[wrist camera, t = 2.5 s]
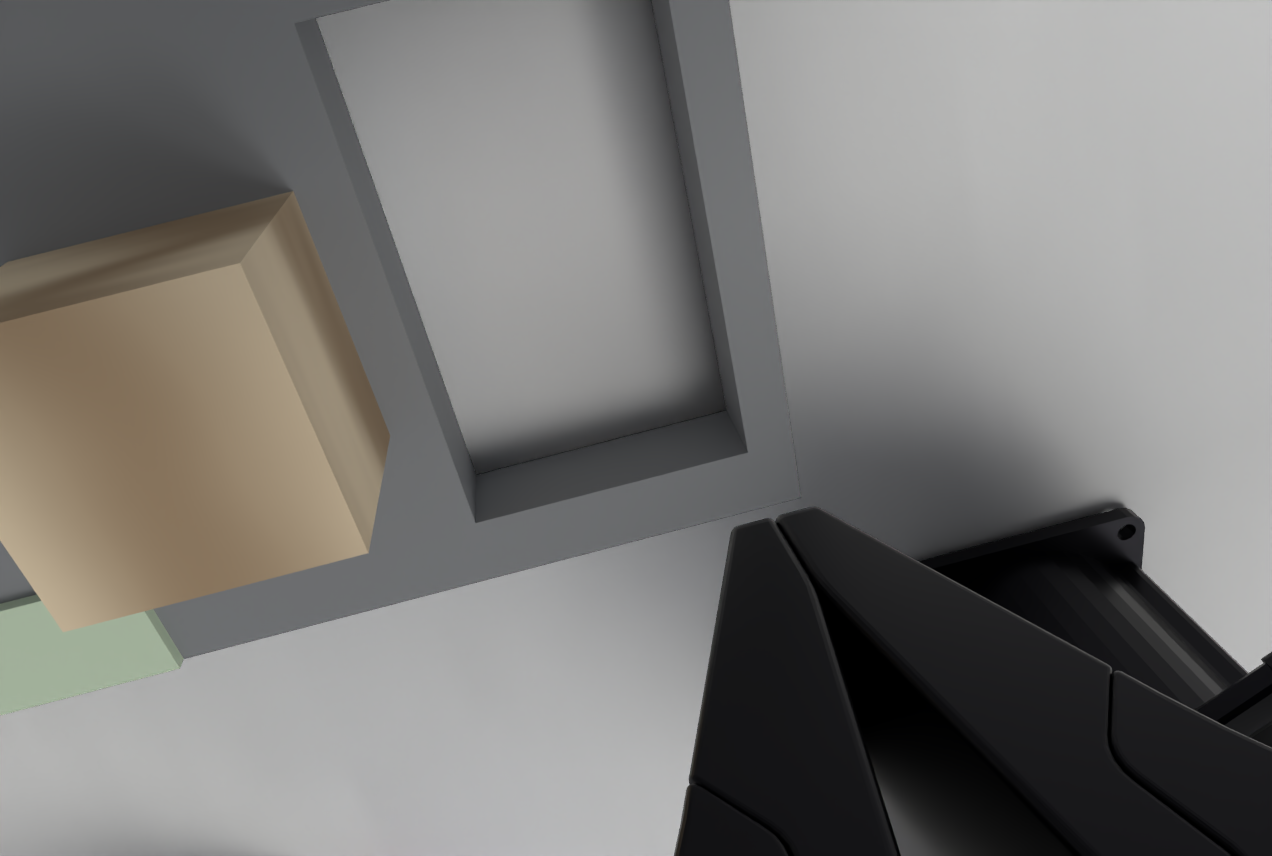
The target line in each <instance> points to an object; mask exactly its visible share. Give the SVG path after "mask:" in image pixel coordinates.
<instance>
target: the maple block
mask: <svg viewBox="0 0 1272 856" xmlns="http://www.w3.org/2000/svg"><path fill="white" fill-rule="evenodd" d="M389 440H390V434H389V431H388V429H387V426H386V424H385V421H384V419H383V416H382V413H381V411H380V408H379V406H378V403H377V401H376V398H375V396H374V393H373V391H372V388H371V386H370V383H369V381H368V378H367V376H366V373H365V371H364V368H363V366H362V363H361V361H360V358H359V355H358V353H357V350H356V348H355V345H354V343H353V340H352V338H351V335H350V333H349V330H348V328H347V325H346V323H345V320H344V318H343V315H342V313H341V310H340V308H339V305H338V303H337V300H336V298H335V295H334V292H333V290H332V287H331V285H330V282H329V280H328V277H327V275H326V272H325V270H324V267H323V265H322V262H321V260H320V257H319V255H318V252H317V250H316V247H315V245H314V242H313V240H312V237H311V234H310V232H309V229H308V227H307V224H306V222H305V219H304V217H303V214H302V212H301V209H300V207H299V204H298V202H297V199H296V197H295V194H294V192H293V191H291V192H287V193H283V194H279V195H275V196H271V197H267V198H263V199H259V200H255V201H251V202H247V203H243V204H239V205H235V206H231V207H227V208H223V209H219V210H215V211H211V212H207V213H203V214H199V215H194V216H190V217H186V218H182V219H178V220H174V221H170V222H166V223H162V224H158V225H154V226H150V227H146V228H142V229H138V230H134V231H130V232H126V233H122V234H118V235H114V236H110V237H106V238H102V239H98V240H94V241H90V242H86V243H82V244H78V245H74V246H70V247H66V248H61V249H57V250H53V251H49V252H45V253H41V254H37V255H33V256H29V257H25V258H21V259H17V260H13V261H9V262H7V263H5V264H4V265H2V266H1V267H0V541H1V543H2V544H3V545H4V547H5V548H6V550H7V551H8V553H9V554H10V556H11V557H12V559H13V560H14V561H15V563H16V564H17V566H18V567H19V569H20V570H21V572H22V573H23V575H24V576H25V578H26V579H27V580H28V582H29V583H30V585H31V586H32V588H33V589H34V591H35V592H36V594H37V595H38V597H39V598H40V599H41V601H42V602H43V604H44V605H45V607H46V608H47V610H48V611H49V613H50V614H51V615H52V617H53V618H54V620H55V621H56V623H57V624H58V626H59V627H60V629H61V630H62V632H67V631H70V630H74V629H78V628H82V627H86V626H90V625H94V624H97V623H101V622H105V621H109V620H113V619H117V618H121V617H124V616H128V615H132V614H136V613H140V612H144V611H148V610H151V609H155V608H159V607H163V606H167V605H171V604H174V603H178V602H182V601H186V600H190V599H194V598H198V597H201V596H205V595H209V594H213V593H217V592H221V591H225V590H228V589H232V588H236V587H240V586H244V585H248V584H252V583H255V582H259V581H263V580H267V579H271V578H275V577H279V576H282V575H286V574H290V573H294V572H298V571H302V570H306V569H309V568H313V567H317V566H321V565H325V564H329V563H333V562H336V561H340V560H344V559H348V558H352V557H356V556H359V555H363V554H367V553H369V548H370V542H371V537H372V532H373V526H374V521H375V515H376V510H377V505H378V499H379V494H380V488H381V483H382V478H383V472H384V467H385V461H386V456H387V451H388V445H389Z"/></svg>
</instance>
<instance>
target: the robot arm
mask: <svg viewBox="0 0 1272 856" xmlns="http://www.w3.org/2000/svg"><path fill="white" fill-rule="evenodd" d="M1123 526H1125V527H1124V528H1123V529H1121V528H1122V527H1123ZM1120 529H1121V530H1120ZM1144 532H1145V526H1144V522H1143V521H1142V519H1141V518H1140V517H1138V516H1137V515H1136V514H1135V513H1134V512H1133V511H1132V510H1130V509H1127V508H1121V509H1116V510H1112V511H1108V512H1104V513H1100V514H1097V515H1093V516H1089V517H1085V518H1082V519H1078V520H1074V521H1070V522H1066V523H1063V524H1059V525H1055V526H1051V527H1047V528H1044V529H1040V530H1036V531H1032V532H1029V533H1025V534H1021V535H1017V536H1013V537H1010V538H1006V539H1002V540H998V541H994V542H991V543H987V544H983V545H979V546H975V547H972V548H968V549H964V550H960V551H957V552H953V553H949V554H945V555H941V556H938V557H934V558H930V559H926V560H922V561H917V560H915V559H913V558H911V557H909V556H907V555H906V554H904V553H902V552H900V551H898V550H896V549H895V548H893V547H891V546H889V545H887V544H885V543H884V542H882V541H880V540H878V539H876V538H874V537H873V536H871V535H869V534H867V533H865V532H863V531H861V530H860V529H858V528H856V527H854V526H852V525H850V524H849V523H847V522H845V521H843V520H841V519H839V518H838V517H836V516H834V515H832V514H830V513H828V512H827V511H825V510H823V509H821V508H818V507H809V508H805V509H801V510H797V511H793V512H789V513H786V514H782V515H779V516H778V517H777V519H776V522H775V521H774V520H772V519H762V520H759V521H755V522H751V523H747V524H743V525H739V526H736V527H734V528H733V530H732V532H731V535H730V541H729V547H728V553H727V559H726V565H725V570H724V576H723V582H722V588H721V594H720V600H719V606H718V611H717V617H716V623H715V629H714V635H713V641H712V646H711V652H710V658H709V664H708V670H707V676H706V682H705V687H704V693H703V699H702V705H701V711H700V717H699V723H698V728H697V734H696V740H695V746H694V752H693V758H692V764H691V769H690V775H689V784H690V785H689V786H688V787H687V790H686V796H685V801H684V807H683V813H682V819H681V825H680V829H679V834H678V839H677V843H676V848H675V853H674V856H1272V652H1271V653H1269V654H1268V655H1266V656H1265V657H1263V658H1262V659H1261V660H1262V661H1263V664H1262V665H1260V666H1259V667H1257V668H1256V669H1254V670H1253V671H1251V672H1250V673H1248V672H1247V671H1246V670H1245V669H1244V668H1243V667H1242V666H1241V665H1240V664H1239V663H1238V662H1237V661H1236V660H1235V659H1233V658H1232V657H1231V656H1230V655H1229V654H1228V653H1227V652H1226V651H1225V650H1224V649H1223V648H1222V647H1221V646H1220V645H1219V644H1218V643H1217V642H1216V641H1215V640H1214V639H1213V638H1212V637H1211V636H1210V635H1209V634H1208V633H1207V632H1205V631H1204V630H1203V629H1202V628H1201V627H1200V626H1199V625H1198V624H1197V623H1196V622H1195V621H1194V620H1193V619H1192V618H1191V617H1190V616H1189V615H1188V614H1187V613H1186V612H1185V611H1184V610H1183V609H1182V608H1181V607H1180V606H1179V605H1178V604H1176V603H1175V602H1174V601H1173V600H1172V599H1171V598H1170V597H1169V596H1168V595H1167V594H1166V593H1165V592H1164V591H1163V590H1162V589H1161V588H1160V587H1159V586H1158V585H1157V584H1156V583H1155V582H1154V581H1153V580H1152V579H1151V578H1150V577H1148V576H1147V575H1146V574H1145V573H1144V572H1143V571H1142V570H1141V569H1142V557H1143V544H1144Z"/></svg>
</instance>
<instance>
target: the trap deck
mask: <svg viewBox="0 0 1272 856" xmlns="http://www.w3.org/2000/svg"><path fill="white" fill-rule="evenodd" d="M384 1H388V0H0V267H1V266H2V265H4V264H5V263H7V262H9V261H13V260H17V259H21V258H25V257H29V256H33V255H37V254H41V253H45V252H49V251H53V250H57V249H61V248H66V247H70V246H74V245H78V244H82V243H86V242H90V241H94V240H98V239H102V238H106V237H110V236H114V235H118V234H122V233H126V232H130V231H134V230H138V229H142V228H146V227H150V226H154V225H158V224H162V223H166V222H170V221H174V220H178V219H182V218H186V217H190V216H194V215H199V214H203V213H207V212H211V211H215V210H219V209H223V208H227V207H231V206H235V205H239V204H243V203H247V202H251V201H255V200H259V199H263V198H267V197H271V196H275V195H279V194H283V193H287V192H291V191H293V192H294V194H295V197H296V199H297V202H298V204H299V207H300V209H301V212H302V214H303V217H304V219H305V222H306V224H307V227H308V229H309V232H310V234H311V237H312V240H313V242H314V245H315V247H316V250H317V252H318V255H319V257H320V260H321V262H322V265H323V267H324V270H325V272H326V275H327V277H328V280H329V282H330V285H331V287H332V290H333V292H334V295H335V298H336V300H337V303H338V305H339V308H340V310H341V313H342V315H343V318H344V320H345V323H346V325H347V328H348V330H349V333H350V335H351V338H352V340H353V343H354V345H355V348H356V350H357V353H358V355H359V358H360V361H361V363H362V366H363V368H364V371H365V373H366V376H367V378H368V381H369V383H370V386H371V388H372V391H373V393H374V396H375V398H376V401H377V403H378V406H379V408H380V411H381V413H382V416H383V419H384V421H385V424H386V426H387V429H388V431H389V434H390V440H389V445H388V451H387V456H386V461H385V467H384V472H383V478H382V483H381V488H380V494H379V499H378V505H377V510H376V515H375V521H374V526H373V532H372V537H371V542H370V548H369V553H367V554H363V555H359V556H356V557H352V558H348V559H344V560H340V561H336V562H333V563H329V564H325V565H321V566H317V567H313V568H309V569H306V570H302V571H298V572H294V573H290V574H286V575H282V576H279V577H275V578H271V579H267V580H263V581H259V582H255V583H252V584H248V585H244V586H240V587H236V588H232V589H228V590H225V591H221V592H217V593H213V594H209V595H205V596H201V597H198V598H194V599H190V600H186V601H182V602H178V603H174V604H171V605H167V606H163V607H159V608H155V609H151V610H148V611H144V612H140V613H136V614H132V615H128V616H124V617H121V618H117V619H113V620H109V621H105V622H101V623H97V624H94V625H90V626H86V627H82V628H78V629H74V630H70V631H67V632H62V630H61V629H60V627H59V626H58V624H57V623H56V621H55V620H54V618H53V617H52V615H51V614H50V613H49V611H48V610H47V608H46V607H45V605H44V604H43V602H42V601H41V599H40V598H39V597H38V595H37V594H36V592H35V591H34V589H33V588H32V586H31V585H30V583H29V582H28V580H27V579H26V578H25V576H24V575H23V573H22V572H21V570H20V569H19V567H18V566H17V564H16V563H15V561H14V560H13V559H12V557H11V556H10V554H9V553H8V551H7V550H6V548H5V547H4V545H3V544H2V543H1V541H0V715H4V714H8V713H12V712H15V711H19V710H23V709H27V708H31V707H35V706H38V705H42V704H46V703H50V702H54V701H57V700H61V699H65V698H69V697H73V696H77V695H80V694H84V693H88V692H92V691H96V690H100V689H103V688H107V687H111V686H115V685H119V684H122V683H126V682H130V681H134V680H138V679H142V678H145V677H149V676H153V675H157V674H161V673H165V672H168V671H172V670H176V669H180V667H181V664H182V662H183V660H184V659H186V658H189V657H193V656H197V655H201V654H205V653H209V652H212V651H216V650H220V649H224V648H228V647H232V646H235V645H239V644H243V643H247V642H251V641H255V640H258V639H262V638H266V637H270V636H274V635H278V634H281V633H285V632H289V631H293V630H297V629H300V628H304V627H308V626H312V625H316V624H320V623H323V622H327V621H331V620H335V619H339V618H343V617H346V616H350V615H354V614H358V613H362V612H366V611H369V610H373V609H377V608H381V607H385V606H389V605H392V604H396V603H400V602H404V601H408V600H412V599H415V598H419V597H423V596H427V595H431V594H434V593H438V592H442V591H446V590H450V589H454V588H457V587H461V586H465V585H469V584H473V583H477V582H480V581H484V580H488V579H492V578H496V577H500V576H503V575H507V574H511V573H515V572H519V571H523V570H526V569H530V568H534V567H538V566H542V565H546V564H549V563H553V562H557V561H561V560H565V559H569V558H572V557H576V556H580V555H584V554H588V553H591V552H595V551H599V550H603V549H607V548H611V547H614V546H618V545H622V544H626V543H630V542H634V541H637V540H641V539H645V538H649V537H653V536H657V535H660V534H664V533H668V532H672V531H676V530H680V529H683V528H687V527H691V526H695V525H699V524H703V523H706V522H710V521H714V520H718V519H722V518H726V517H729V516H733V515H737V514H741V513H745V512H748V511H752V510H756V509H760V508H764V507H768V506H771V505H775V504H779V503H783V502H787V501H791V500H794V499H798V498H801V493H800V486H799V479H798V472H797V465H796V458H795V451H794V444H793V438H792V431H791V424H790V417H789V410H788V403H787V396H786V389H785V383H784V376H783V369H782V362H781V355H780V348H779V341H778V334H777V328H776V321H775V314H774V307H773V300H772V293H771V286H770V279H769V273H768V266H767V259H766V252H765V245H764V238H763V231H762V224H761V218H760V211H759V204H758V197H757V190H756V183H755V176H754V169H753V163H752V156H751V149H750V142H749V135H748V128H747V121H746V114H745V108H744V101H743V94H742V87H741V80H740V73H739V66H738V59H737V53H736V46H735V39H734V32H733V25H732V18H731V11H730V4H729V0H651V2H652V7H653V13H654V18H655V24H656V29H657V35H658V40H659V45H660V51H661V56H662V62H663V67H664V73H665V78H666V84H667V89H668V94H669V100H670V105H671V111H672V116H673V122H674V127H675V133H676V138H677V143H678V149H679V154H680V160H681V165H682V171H683V176H684V182H685V187H686V192H687V198H688V203H689V209H690V214H691V220H692V225H693V231H694V236H695V241H696V247H697V252H698V258H699V263H700V269H701V274H702V280H703V285H704V290H705V296H706V301H707V307H708V312H709V318H710V323H711V329H712V334H713V339H714V345H715V350H716V356H717V361H718V367H719V372H720V378H721V383H722V389H723V394H724V399H725V405H726V410H727V411H723V412H719V413H715V414H711V415H708V416H704V417H700V418H696V419H692V420H688V421H684V422H680V423H677V424H673V425H669V426H665V427H661V428H657V429H653V430H649V431H646V432H642V433H638V434H634V435H630V436H626V437H622V438H618V439H615V440H611V441H607V442H603V443H599V444H595V445H591V446H587V447H584V448H580V449H576V450H572V451H568V452H564V453H560V454H556V455H553V456H549V457H545V458H541V459H537V460H533V461H529V462H525V463H522V464H518V465H514V466H510V467H506V468H502V469H498V470H494V471H491V472H487V473H483V474H479V475H476V473H475V470H474V467H473V465H472V462H471V459H470V456H469V453H468V450H467V448H466V445H465V442H464V439H463V436H462V433H461V430H460V428H459V425H458V422H457V419H456V416H455V413H454V411H453V408H452V405H451V402H450V399H449V396H448V393H447V391H446V388H445V385H444V382H443V379H442V376H441V374H440V371H439V368H438V365H437V362H436V359H435V357H434V354H433V351H432V348H431V345H430V342H429V339H428V337H427V334H426V331H425V328H424V325H423V322H422V320H421V317H420V314H419V311H418V308H417V305H416V302H415V300H414V297H413V294H412V291H411V288H410V285H409V283H408V280H407V277H406V274H405V271H404V268H403V265H402V263H401V260H400V257H399V254H398V251H397V248H396V246H395V243H394V240H393V237H392V234H391V231H390V229H389V226H388V223H387V220H386V217H385V214H384V211H383V209H382V206H381V203H380V200H379V197H378V194H377V192H376V189H375V186H374V183H373V180H372V177H371V174H370V172H369V169H368V166H367V163H366V160H365V157H364V155H363V152H362V149H361V146H360V143H359V140H358V138H357V135H356V132H355V129H354V126H353V123H352V120H351V118H350V115H349V112H348V109H347V106H346V103H345V101H344V98H343V95H342V92H341V89H340V86H339V83H338V81H337V78H336V75H335V72H334V69H333V66H332V64H331V61H330V58H329V55H328V52H327V49H326V47H325V44H324V41H323V38H322V35H321V32H320V29H319V27H318V24H317V21H316V18H318V17H322V16H326V15H330V14H335V13H339V12H343V11H347V10H351V9H355V8H359V7H363V6H367V5H372V4H376V3H380V2H384Z"/></svg>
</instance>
